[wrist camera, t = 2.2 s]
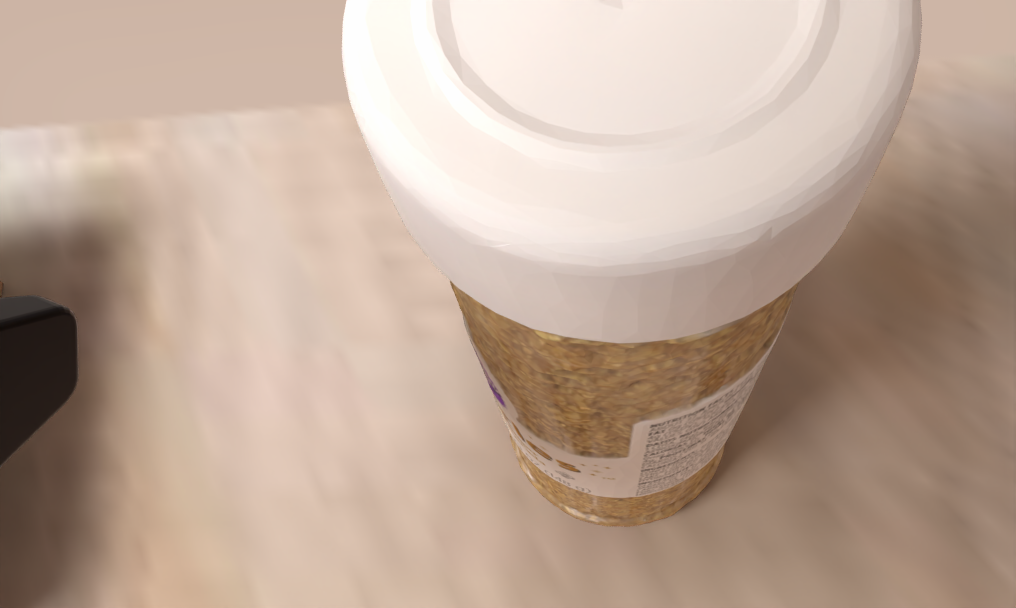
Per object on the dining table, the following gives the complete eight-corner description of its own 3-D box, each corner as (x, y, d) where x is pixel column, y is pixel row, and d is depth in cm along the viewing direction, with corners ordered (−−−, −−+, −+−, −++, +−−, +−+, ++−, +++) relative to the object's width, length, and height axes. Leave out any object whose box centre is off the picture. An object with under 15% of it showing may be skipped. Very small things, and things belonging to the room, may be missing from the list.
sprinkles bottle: (471, 397, 20) (227, -55, 7) (642, 283, 20) (679, -317, 8) (594, 579, 18) (541, 384, 6) (776, 450, 19) (1087, 17, 6)
